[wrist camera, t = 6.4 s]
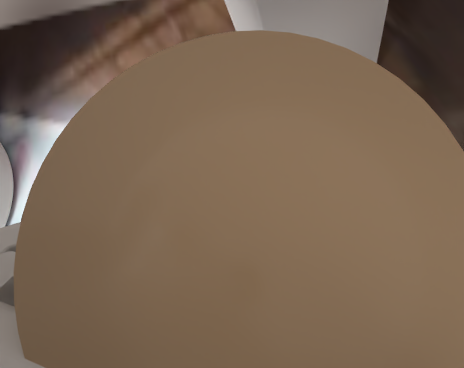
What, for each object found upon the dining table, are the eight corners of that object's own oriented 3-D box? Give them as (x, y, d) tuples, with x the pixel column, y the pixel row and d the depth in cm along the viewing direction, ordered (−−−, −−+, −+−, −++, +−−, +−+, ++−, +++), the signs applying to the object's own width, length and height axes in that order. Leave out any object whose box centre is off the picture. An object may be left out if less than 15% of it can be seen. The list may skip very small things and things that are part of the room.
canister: (205, 321, 15) (-53, 405, 5) (247, 183, 16) (101, 5, 6) (353, 375, 14) (432, 655, 3) (390, 220, 15) (543, 68, 4)
